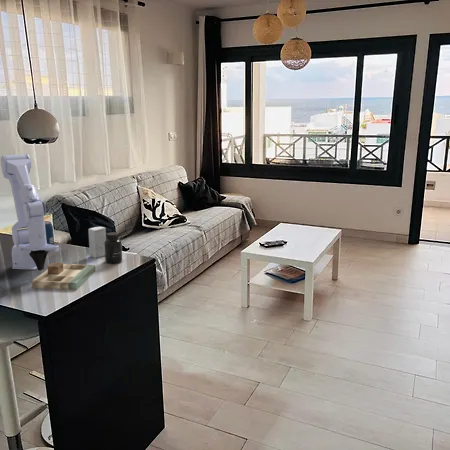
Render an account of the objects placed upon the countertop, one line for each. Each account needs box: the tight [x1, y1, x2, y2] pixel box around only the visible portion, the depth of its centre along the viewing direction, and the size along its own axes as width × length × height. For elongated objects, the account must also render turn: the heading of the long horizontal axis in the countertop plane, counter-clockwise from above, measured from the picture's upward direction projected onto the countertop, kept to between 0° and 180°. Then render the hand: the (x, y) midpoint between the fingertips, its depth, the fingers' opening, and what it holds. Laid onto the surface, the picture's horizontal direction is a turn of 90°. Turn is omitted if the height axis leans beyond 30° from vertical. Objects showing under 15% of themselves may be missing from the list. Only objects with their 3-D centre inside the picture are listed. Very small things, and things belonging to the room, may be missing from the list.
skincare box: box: [88, 225, 107, 259], centre depth 190 cm, size 6×4×12 cm
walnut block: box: [47, 262, 64, 275], centre depth 164 cm, size 4×4×3 cm
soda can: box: [45, 220, 56, 245], centre depth 198 cm, size 7×7×12 cm
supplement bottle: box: [104, 231, 123, 265], centre depth 182 cm, size 7×7×12 cm
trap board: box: [31, 263, 97, 291], centre depth 165 cm, size 16×18×2 cm
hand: (40, 269), depth 165 cm, fingers closed
